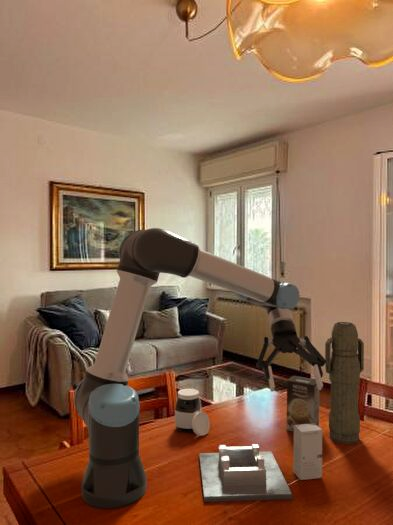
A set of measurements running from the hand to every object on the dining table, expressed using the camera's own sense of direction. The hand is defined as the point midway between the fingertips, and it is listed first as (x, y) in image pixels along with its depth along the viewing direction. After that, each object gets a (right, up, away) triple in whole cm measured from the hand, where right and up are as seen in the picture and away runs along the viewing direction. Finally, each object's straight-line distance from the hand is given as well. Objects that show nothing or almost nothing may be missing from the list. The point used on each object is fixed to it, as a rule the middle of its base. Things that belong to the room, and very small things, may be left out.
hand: (296, 388), depth 113 cm
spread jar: (-29, -18, +16) cm, 38 cm away
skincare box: (0, -19, -11) cm, 21 cm away
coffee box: (+6, -18, +16) cm, 25 cm away
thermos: (+17, -18, +10) cm, 27 cm away
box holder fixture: (-17, -18, -11) cm, 28 cm away
